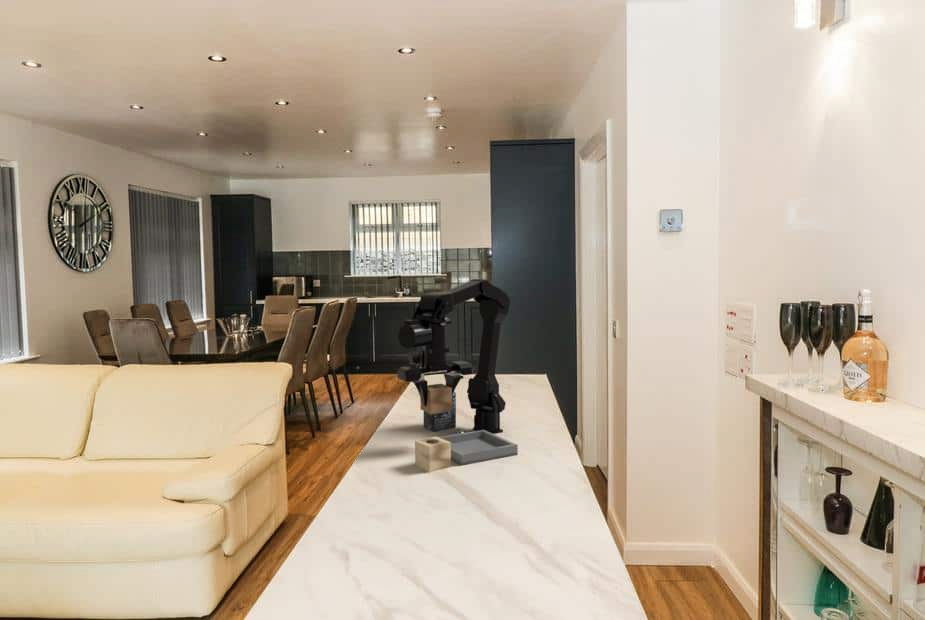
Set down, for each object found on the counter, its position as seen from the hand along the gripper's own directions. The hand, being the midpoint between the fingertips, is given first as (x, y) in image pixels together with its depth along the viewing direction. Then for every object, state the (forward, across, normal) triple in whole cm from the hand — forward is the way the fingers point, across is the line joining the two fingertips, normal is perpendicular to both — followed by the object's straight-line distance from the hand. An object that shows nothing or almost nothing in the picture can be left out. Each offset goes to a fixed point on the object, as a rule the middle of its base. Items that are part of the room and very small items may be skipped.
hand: (436, 404), depth 161 cm
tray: (+12, -7, +6) cm, 15 cm away
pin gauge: (+12, -4, -5) cm, 13 cm away
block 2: (+12, +7, +12) cm, 18 cm away
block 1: (+2, 0, 0) cm, 2 cm away
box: (+12, -10, -18) cm, 24 cm away
